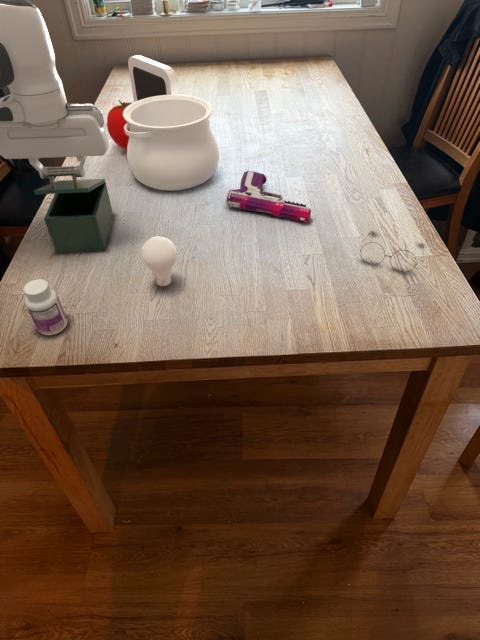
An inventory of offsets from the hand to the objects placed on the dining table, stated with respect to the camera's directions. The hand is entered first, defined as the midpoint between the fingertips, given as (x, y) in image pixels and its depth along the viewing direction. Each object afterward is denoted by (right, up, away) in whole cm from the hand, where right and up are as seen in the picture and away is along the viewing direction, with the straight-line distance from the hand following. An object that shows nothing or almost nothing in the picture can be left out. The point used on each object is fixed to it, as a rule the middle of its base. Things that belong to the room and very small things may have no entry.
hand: (63, 176), depth 90 cm
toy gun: (+47, +7, +26) cm, 54 cm away
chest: (0, -9, +14) cm, 16 cm away
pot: (+18, +12, +34) cm, 40 cm away
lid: (0, -1, +5) cm, 5 cm away
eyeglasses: (+68, -15, +7) cm, 70 cm away
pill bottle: (+1, -30, -8) cm, 31 cm away
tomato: (+3, +23, +46) cm, 51 cm away
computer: (+9, +34, +41) cm, 55 cm away
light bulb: (+20, -22, 0) cm, 30 cm away
